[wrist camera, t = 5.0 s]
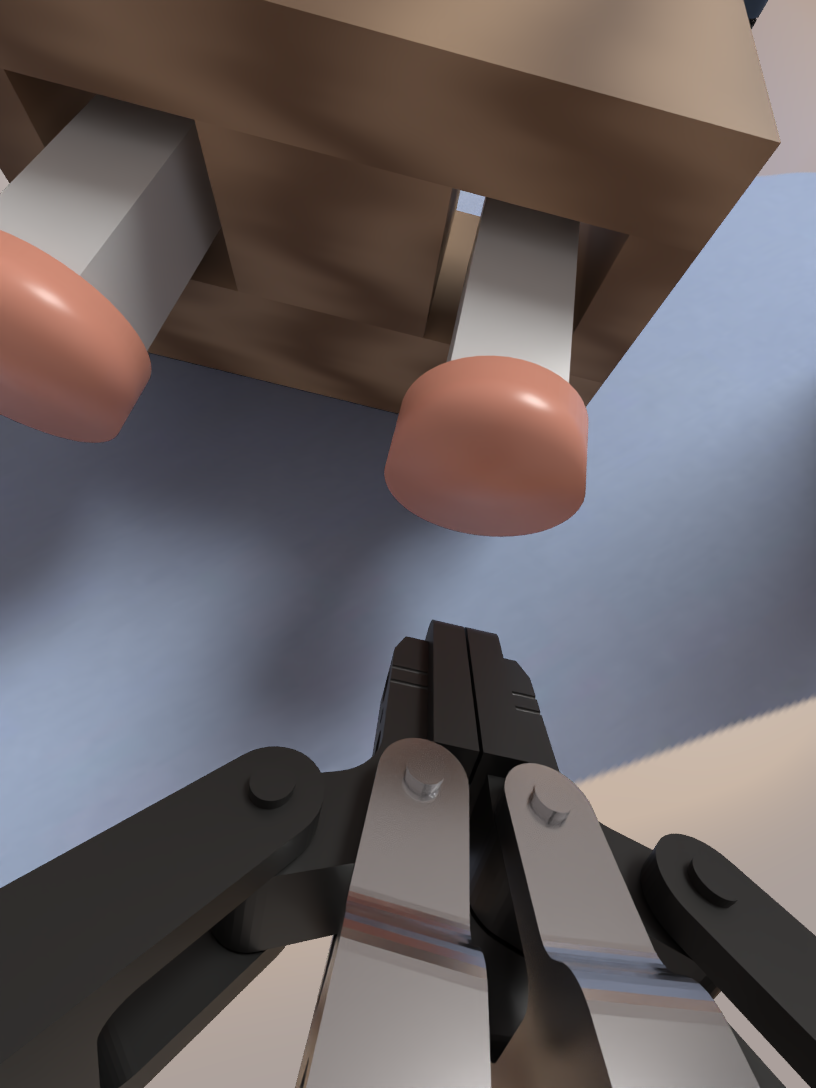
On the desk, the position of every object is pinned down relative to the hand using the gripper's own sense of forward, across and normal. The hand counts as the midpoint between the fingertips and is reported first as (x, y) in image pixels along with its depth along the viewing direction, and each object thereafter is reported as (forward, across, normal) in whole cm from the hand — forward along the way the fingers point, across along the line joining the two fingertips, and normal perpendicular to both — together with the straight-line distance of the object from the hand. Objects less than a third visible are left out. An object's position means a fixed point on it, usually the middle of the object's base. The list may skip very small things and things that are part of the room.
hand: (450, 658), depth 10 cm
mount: (+16, +6, -7) cm, 18 cm away
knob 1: (+8, +12, -5) cm, 15 cm away
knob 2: (+8, 0, -5) cm, 10 cm away
